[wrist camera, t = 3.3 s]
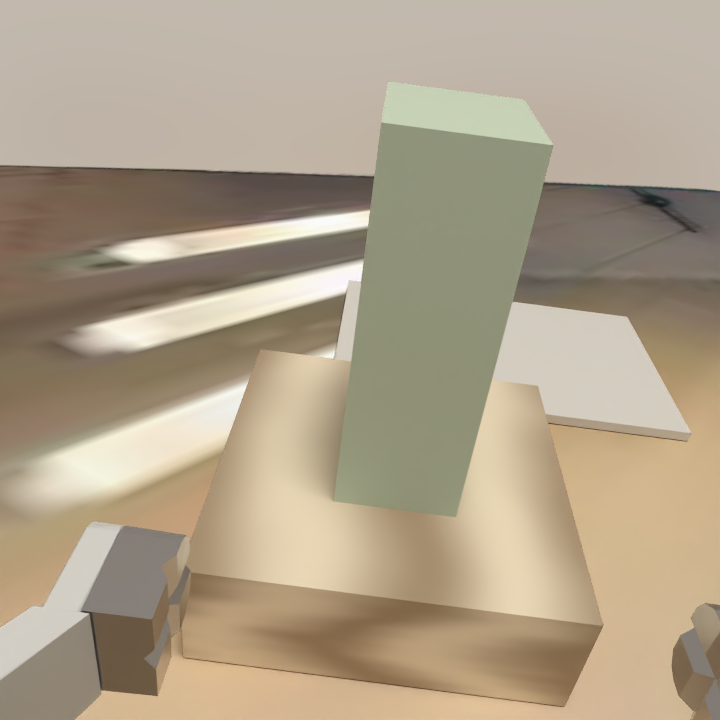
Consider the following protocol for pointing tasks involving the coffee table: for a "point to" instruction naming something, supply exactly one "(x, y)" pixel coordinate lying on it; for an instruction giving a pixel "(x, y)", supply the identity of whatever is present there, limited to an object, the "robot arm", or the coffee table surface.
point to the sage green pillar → (436, 290)
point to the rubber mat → (572, 368)
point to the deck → (389, 553)
